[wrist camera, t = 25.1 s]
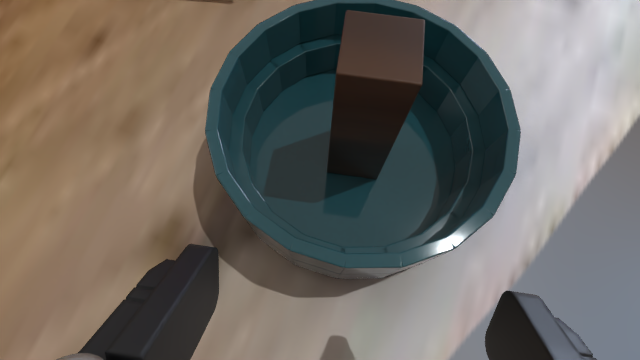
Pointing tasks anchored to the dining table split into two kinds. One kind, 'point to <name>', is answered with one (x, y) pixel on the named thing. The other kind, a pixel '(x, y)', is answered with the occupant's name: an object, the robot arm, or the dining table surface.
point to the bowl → (400, 166)
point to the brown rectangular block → (373, 89)
